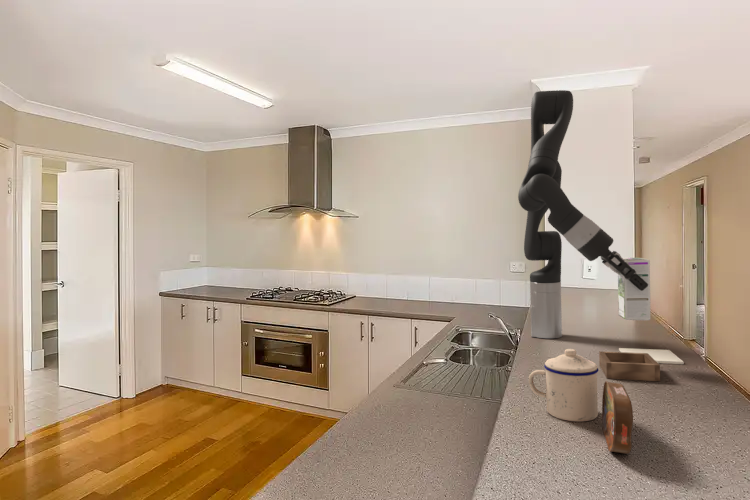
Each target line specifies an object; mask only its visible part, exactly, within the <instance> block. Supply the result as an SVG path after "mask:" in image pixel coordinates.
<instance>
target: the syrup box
mask: <svg viewBox="0 0 750 500" xmlns="http://www.w3.org/2000/svg"><path fill="white" fill-rule="evenodd" d="M622 258H623V259H624V261H625V262H628V263H629V266H630V267H631V268H632V269H634V270H635V271H636V274H637V275H638V276H640V277H641V278H642V279H643V280H644V281H645V282H646V283H647V284H648V286H647V287H646V288H645V289H644V290H642V291H641V290H639V289H638V288H637V287H636V286H635V285H634V284H632V283H631V282H630V281H629V280H626V279H625V277H624V276H623V275H621V274H620V275H618V274H617V296H618V297H617V298H618V301H617V305H618V310H617V311H618V316H619V317H621V318H622V319H624V320H626V321H651V271H650V270H651V269H650V268H651V267H650V266H651V263H650V262H651V261H650V259H648V258H643V257H622ZM628 271H629V269H628V268H625V269H624V271H623V273H625V274H626V273H627V272H628Z"/></svg>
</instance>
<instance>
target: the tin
mask: <svg viewBox="0 0 750 500" xmlns="http://www.w3.org/2000/svg"><path fill="white" fill-rule="evenodd" d="M601 406H602V407H601V414H602V415H601V423H602V431H603V435H604V438H605V442H606V447H607V449H608V451H609V453H611V452H614V453H618V454H625V455H626V454H630V453H631V450H632V446H633V445H632V431H633V430H632V429H633V424H634V411H633V404H632V401H631V398H630V396H629V393H628V392H627V390H626V388H625V386H624V385H623V384H622V383H618V382H609V381H607V380H606V381H604V383H603V387H602V402H601Z"/></svg>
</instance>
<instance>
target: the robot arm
mask: <svg viewBox="0 0 750 500" xmlns="http://www.w3.org/2000/svg"><path fill="white" fill-rule="evenodd" d="M530 106H531V107H530V155H529V160H528V161H529V162H528V167H527V169H526V170H527V171H526V173H525V175H524V176H523V180H522V183H521V185H520V187H519V190H518V195H517V198H518V200H517V201H518V203H519V205H520V207H521V208H522V209H523V210H524V211H526V212H527V217H526V224H525V232H524V240H523V241H524V242H523V252H524V256H525V258H526V260H528V261H534V262H535V261H547V264H546V265H544V267H542V268H540V269H537V270H535V271H532V272H531V273H530V275H529V291H530V292H529V293H530V299H529V300H530V336H531V338H538V339H539V338H540V339H558V338H559V339H560V338H562V337H563V324H562V323H563V322H562V320H563V319H562V317H563V315H562V314H563V313H562V278H561V277H562V250H563V249H562V238H561V236H563V238H565V240H566V241H567V242H568V244H570V245H571V246H572V247H573V248H574V249H575V250H576V251H578V252H579V253H580V254H581V255H582V256H583V257H584V258H585V259H587V260H588V261H589V262H593V261H595V260H596V259H598V258H599V257H600V259H601V263H602V264H603V266H606V267H607V268H609V269H610V270H611V271H613V273H616V274H617V276H618V275H620V274H621V275H623V276H624V277H625V279H626V280H629V281H630V282H631V283H632V284H634V285H635V286H636V287H637V288H638V289H639V290H641V291H642V290H644V289H645V288H646V287H647V286H648V284H647V283H646V282H645V281H644V280H643V279H642V278H641V277H640V276H638V275H637V274H636V271H635V270H634V269H632V268H631V267H630V266H629V263H628V262H625V261H624V259H623V258H624V257H622V255H621V254H620V253H618V252H617V251H616V250H612V251H611V250H610V248H609V247H611V246H612V245H613V244H614V239H613V237H611V236H610V234H608V233H607V232H606V231H605V230H604V229H602V228H601V227H600V226H599V225H598V224H596V223H595V221H593V220H592V219H590V218H589V217H588V216H586V215H585V214H583V213H582V212H581V211H580V210H579V209H578V208H577V207H576V206H574V205H573V204H572V203H571V201H570V200H569V198H568V196H567V195H566V193H565V192H564V191H563V189H562V187H561V186H562V185H561V184H562V176H563V175H562V171H563V170H562V166H561V165H560V162H559V156H560V151H561V147H562V144H563V142H564V139H565V137H566V134H567V131H568V128H569V125H570V122H571V119H572V116H573V110H574V96H573V93H572V91H570V90H564V89H563V90H562V89H560V90H558V89H557V90H540V91H539V90H538V91H536V92H534V94H533V95H532V98H531V105H530ZM544 125H553V126H552V127H551V128H550V129H549V130H548V131H547V132H546V133H545V132H544ZM548 210H549V211H550V213H549V214H548V217H547V221H548V223H549V224H550V226H551V227H553V228H554V230H548V231H547V230H546V231H539V228H540V225H541V222H542V220H543V218H544V215H545V214H546V213H547V212H548ZM555 230H556V231H555ZM625 268H628V269H629V271H628V272H627V273H626V274H625V273H623V271H624V269H625Z"/></svg>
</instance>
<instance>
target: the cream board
mask: <svg viewBox="0 0 750 500" xmlns="http://www.w3.org/2000/svg"><path fill="white" fill-rule="evenodd" d="M618 352H628V353H648V354H649V355H650V356H651V357H652V358H653V359H654V360H655V361H656V362H657V363H658V364H668V365H669V364H670V365H684V363H685V362H684V361H683V360H682V359H681V358H679V356H677V355H676V354H675V353H673V352H672V351H671V350H670V349H655V348H654V349H652V348H651V349H649V348H627V347H626V348H625V347H624V348H623V347H622V348H621V347H619V348H618Z"/></svg>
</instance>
